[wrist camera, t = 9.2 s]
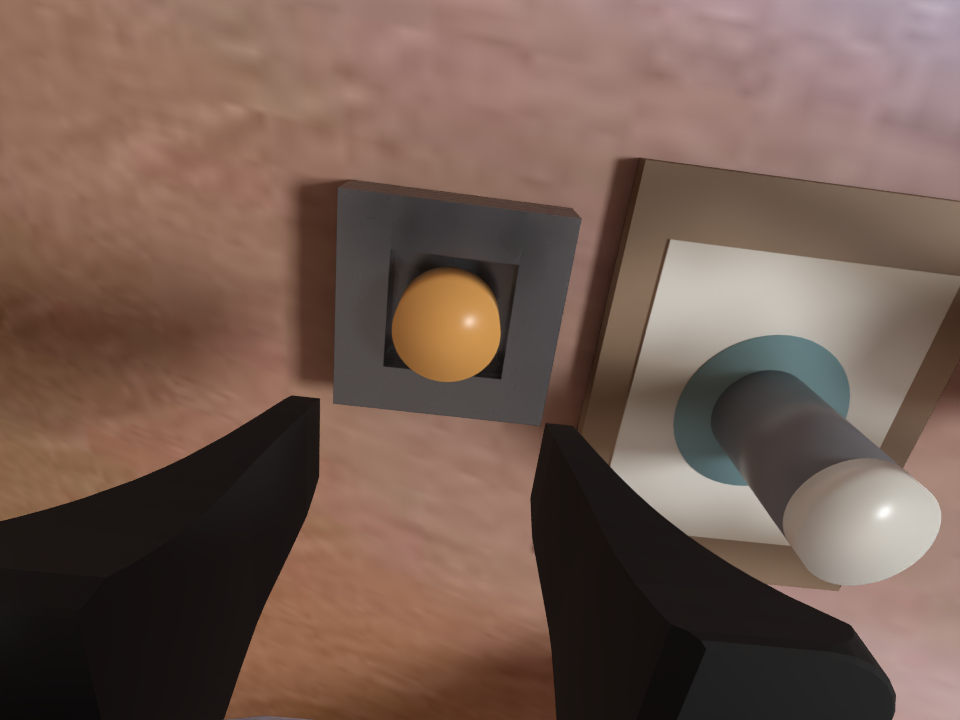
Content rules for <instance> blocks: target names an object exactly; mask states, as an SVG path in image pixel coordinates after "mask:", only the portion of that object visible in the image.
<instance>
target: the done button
mask: <svg viewBox="0 0 960 720" xmlns="http://www.w3.org/2000/svg"><path fill="white" fill-rule="evenodd" d="M500 335H501V330H500V318H499V309H498V304H497V301H496V298H495V296H494V294H493V292H492V290H491V289H490V287H489V286H488V285H487V284H486V283H485V282H484V281H483V280H482V279H481V278H480V277H478V276H477V275H475V274H474V273H472V272H470V271H468V270H465V269H461V268H457V267H439V268H434V269H431V270H428V271H426V272H424V273H422V274H420V275H419V276H417V277H416V278H415V279H414V280H413V281H411V283H410V284H409V285H408V286H407V288H406V289H405V291H404V293H403V295H402V297H401V299H400V302H399V304H398V307H397V309H396V312H395V315H394V318H393V323H392V338H393V342H394V346H395V348H396V351H397V353H398V354H399V356H400V358H401V359H402V360H403V362H404V363H405V364H406V365H407V366H408V367H409V368H410V369H412V370H413V371H414V372H416V373H417V374H419V375H421V376H423V377H425V378H428V379H431V380H434V381H440V382H455V381H461V380H464V379H467V378H470V377H472V376H474V375H476V374H477V373H479V372H480V371H482V370H483V369H484V368H485V367H486V366H487V365H488V364H489V363H490V362H491V360H492V359H493V358H494V356H495V354H496V352H497V349H498V347H499V343H500Z"/></svg>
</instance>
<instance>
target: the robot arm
mask: <svg viewBox="0 0 960 720" xmlns="http://www.w3.org/2000/svg"><path fill="white" fill-rule="evenodd" d="M319 439H320V399H319V398H310V397H301V396H290V397H288V398H286V399H284V400H283V401H281V402H279V403H278V404H276V405H275V406H273V407H271V408H270V409H268V410H267V411H265V412H263V413H262V414H260V415H259V416H257V417H256V418H254V419H252V420H251V421H249V422H247V423H246V424H244V425H242V426H241V427H239V428H238V429H236V430H234V431H233V432H231V433H229V434H228V435H226V436H224V437H222V438H220V439H218V440H217V441H215V442H213V443H211V444H209V445H207V446H206V447H204V448H202V449H200V450H198V451H196V452H195V453H193V454H191V455H189V456H187V457H185V458H183V459H181V460H179V461H177V462H175V463H173V464H170V465H168V466H166V467H164V468H162V469H159V470H157V471H155V472H152V473H150V474H148V475H145V476H143V477H141V478H138V479H136V480H133V481H130V482H128V483H125V484H122V485H119V486H116V487H114V488H111V489H108V490H105V491H102V492H100V493H97V494H94V495H91V496H88V497H86V498H83V499H80V500H76V501H73V502H70V503H66V504H63V505H60V506H56V507H53V508H50V509H46V510H42V511H39V512H35V513H31V514H27V515H24V516H20V517H16V518H12V519H8V520H4V521H0V720H224V717H225V714H226V711H227V708H228V705H229V702H230V699H231V696H232V693H233V690H234V687H235V684H236V681H237V678H238V675H239V672H240V670H241V667H242V664H243V661H244V658H245V655H246V653H247V650H248V647H249V644H250V641H251V638H252V636H253V633H254V630H255V627H256V624H257V622H258V620H259V617H260V615H261V613H262V610H263V608H264V605H265V603H266V601H267V599H268V597H269V595H270V593H271V591H272V588H273V586H274V584H275V582H276V580H277V578H278V576H279V574H280V572H281V570H282V567H283V565H284V563H285V561H286V559H287V557H288V555H289V553H290V551H291V549H292V546H293V544H294V542H295V540H296V538H297V536H298V534H299V531H300V529H301V527H302V525H303V523H304V521H305V518H306V516H307V513H308V510H309V507H310V504H311V501H312V498H313V495H314V492H315V488H316V485H317V482H318V479H319ZM531 522H532V539H533V545H534V550H535V556H536V562H537V567H538V573H539V578H540V584H541V589H542V595H543V600H544V606H545V611H546V617H547V622H548V628H549V635H550V642H551V649H552V661H553V674H554V687H555V701H556V717H557V720H892V718H893V716H894V713H895V702H896V694H895V691H894V689H893V687H892V684H891V682H890V680H889V678H888V677H887V675H886V674H885V672H884V671H883V670H882V668H881V667H880V665H879V664H878V663H877V661H876V660H875V658H874V657H873V656H872V654H871V653H870V651H869V650H868V648H867V647H866V646H865V644H864V643H863V641H862V640H861V639H860V637H859V636H858V634H857V633H856V632H855V630H854V629H853V628H852V626H851V625H849V624H847V623H845V622H843V621H841V620H839V619H836V618H834V617H832V616H830V615H828V614H826V613H823V612H821V611H819V610H817V609H815V608H813V607H811V606H808V605H806V604H804V603H802V602H800V601H798V600H795V599H793V598H791V597H789V596H787V595H785V594H783V593H781V592H780V591H778V590H776V589H774V588H772V587H770V586H768V585H767V584H765V583H763V582H761V581H759V580H757V579H756V578H754V577H752V576H750V575H748V574H747V573H745V572H743V571H742V570H740V569H738V568H737V567H735V566H733V565H731V564H730V563H728V562H727V561H725V560H724V559H722V558H721V557H719V556H717V555H716V554H714V553H713V552H711V551H710V550H708V549H707V548H705V547H704V546H702V545H701V544H699V543H698V542H696V541H695V540H694V539H692V538H691V537H689V536H688V535H687V534H685V533H684V532H683V531H681V530H680V529H679V528H677V527H676V526H675V525H674V524H672V523H671V522H670V521H668V520H667V519H666V518H665V517H663V516H662V515H661V514H660V513H659V512H657V511H656V510H655V509H654V508H653V507H651V506H650V505H649V504H648V503H647V502H646V501H645V500H644V499H643V498H642V497H640V496H639V495H638V494H637V493H636V492H635V491H634V490H633V489H632V488H631V487H630V486H629V485H628V484H627V483H626V482H625V481H624V480H623V479H622V478H621V477H620V476H619V475H618V474H617V473H616V472H615V471H614V470H613V469H612V468H611V467H610V466H609V465H608V464H607V463H606V462H605V461H604V460H603V458H602V457H601V456H600V455H599V454H598V453H597V452H596V451H595V450H594V449H593V447H592V446H591V445H590V444H589V443H588V442H587V441H586V440H585V438H584V437H583V436H582V435H581V434H580V433H579V432H578V431H577V430H576V429H575V428H574V427H573V426H568V425H558V424H549V423H546V424H545V429H544V434H543V438H542V443H541V448H540V453H539V458H538V463H537V468H536V473H535V478H534V483H533V488H532V493H531ZM227 720H311V719H298V718H286V717H273V716H259V717H248V718H237V719H227Z"/></svg>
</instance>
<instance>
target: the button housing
mask: <svg viewBox="0 0 960 720" xmlns="http://www.w3.org/2000/svg"><path fill="white" fill-rule="evenodd" d="M580 224H581V217H580V216H579V215H578V214H577V213H576V212H575V211H574V210H573V208H566V207H558V206H550V205H543V204H535V203H527V202H519V201H512V200H504V199H496V198H488V197H481V196H473V195H465V194H458V193H450V192H442V191H434V190H427V189H419V188H411V187H404V186H396V185H388V184H380V183H373V182H365V181H357V180H349V181H347V182H346V183H344V184H342V185H341V186H339V187H338V198H337V246H336V293H335V341H334V388H333V404H342V405H351V406H360V407H369V408H379V409H388V410H397V411H406V412H415V413H425V414H434V415H443V416H452V417H462V418H471V419H480V420H489V421H498V422H508V423H517V424H526V425H535V426H541V421H542V416H543V411H544V406H545V401H546V396H547V391H548V386H549V381H550V376H551V371H552V366H553V361H554V356H555V351H556V346H557V340H558V335H559V330H560V325H561V320H562V315H563V310H564V305H565V300H566V295H567V290H568V285H569V280H570V275H571V270H572V265H573V260H574V254H575V249H576V244H577V239H578V234H579V229H580ZM439 267H457V268H461V269H465V270H468V271H470V272H472V273H474V274H475V275H477V276H478V277H480V278H481V279H482V280H483V281H484V282H485V283H486V284H487V285H488V286H489V287H490V289H491V290H492V292H493V294H494V296H495V298H496V301H497V304H498V309H499V318H500V330H501V335H500V343H499V347H498V349H497V352H496V354H495V356H494V358H493V359H492V360H491V362H490V363H489V364H488V365H487V366H486V367H485V368H484V369H483V370H482V371H480V372H479V373H477V374H476V375H474V376H472V377H470V378H467V379H464V380H461V381H455V382H440V381H434V380H431V379H428V378H425V377H423V376H421V375H419V374H417V373H416V372H414V371H413V370H412V369H410V368H409V367H408V366H407V365H406V364H405V363H404V362H403V360H402V359H401V358H400V356H399V354H398V353H397V351H396V348H395V346H394V342H393V338H392V323H393V318H394V315H395V312H396V309H397V307H398V304H399V302H400V299H401V297H402V295H403V293H404V291H405V289H406V288H407V286H408V285H409V284H410V283H411V281H413V280H414V279H415V278H416V277H417V276H419V275H420V274H422V273H424V272H426V271H428V270H431V269H434V268H439Z"/></svg>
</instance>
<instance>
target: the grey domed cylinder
mask: <svg viewBox="0 0 960 720" xmlns="http://www.w3.org/2000/svg"><path fill="white" fill-rule="evenodd" d="M711 428H712V432H713V435H714V437H715V438H716V440H717V442H718V443H719V444H720V446H721V447H722V449H723V450H724V452H725V453H726V454H727V456H728V457H729V459H730V460H731V461H732V463H733V464H734V466H735V467H736V469H737V470H738V471H739V473H740V474H741V476H742V477H743V479H744V480H745V481H746V483H747V484H748V486H749V487H750V489H751V490H752V491H753V493H754V494H755V496H756V497H757V498H758V500H759V501H760V503H761V504H762V506H763V507H764V508H765V510H766V511H767V513H768V514H769V516H770V517H771V518H772V520H773V521H774V523H775V524H776V525H777V527H778V528H779V530H780V531H781V533H782V534H783V535H784V537H785V538H786V540H787V541H788V543H789V544H790V545H791V547H792V548H793V550H794V551H795V553H796V554H797V555H798V557H799V558H800V560H801V561H802V562H803V564H804V565H805V567H806V568H807V569H808V570H809V571H810V572H811V573H812V574H813V575H814V576H816V577H818V578H819V579H821V580H824V581H826V582H829V583H833V584H838V585H848V586H852V585H864V584H870V583H874V582H878V581H881V580H884V579H887V578H889V577H892V576H894V575H896V574H898V573H900V572H902V571H903V570H905V569H907V568H908V567H910V566H911V565H912V564H914V563H915V562H916V561H918V560H919V559H920V558H921V557H922V556H923V555H924V554H925V553H926V552H927V550H928V549H929V548H930V547H931V545H932V544H933V542H934V540H935V538H936V537H937V534H938V532H939V529H940V524H941V511H940V507H939V504H938V502H937V500H936V499H935V497H934V496H933V495H932V494H931V493H930V492H929V491H928V490H927V489H926V488H925V487H924V486H923V485H921V484H920V483H919V482H918V481H917V480H916V479H914V478H913V477H912V476H911V475H910V474H909V473H908V472H906V471H905V470H904V469H903V468H902V467H901V466H899V465H898V464H897V463H896V462H895V461H894V460H892V459H891V458H890V457H889V456H888V455H887V454H886V453H884V452H883V451H882V450H881V449H880V448H879V447H877V446H876V445H875V444H874V443H873V442H872V441H870V440H869V439H868V438H867V437H866V436H865V435H864V434H862V433H861V432H860V431H859V430H858V429H857V428H855V427H854V426H853V425H852V424H851V423H850V422H849V421H847V420H846V419H845V418H844V417H843V416H842V415H840V414H839V413H838V412H837V411H836V410H835V409H833V408H832V407H831V406H830V405H829V404H828V403H827V402H825V401H824V400H823V399H822V398H821V397H820V396H818V395H817V394H816V393H815V392H814V391H813V390H811V389H810V388H809V387H808V386H807V385H806V384H805V383H803V382H802V381H801V380H800V379H798V378H797V377H796V376H794V375H792V374H790V373H787V372H783V371H777V370H765V371H759V372H755V373H752V374H749V375H746V376H744V377H742V378H740V379H739V380H737V381H736V382H734V383H733V384H731V385H730V386H729V387H728V388H727V389H726V390H725V391H724V392H723V393H722V394H721V396H720V397H719V398H718V400H717V402H716V403H715V406H714V408H713V411H712V416H711Z"/></svg>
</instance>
